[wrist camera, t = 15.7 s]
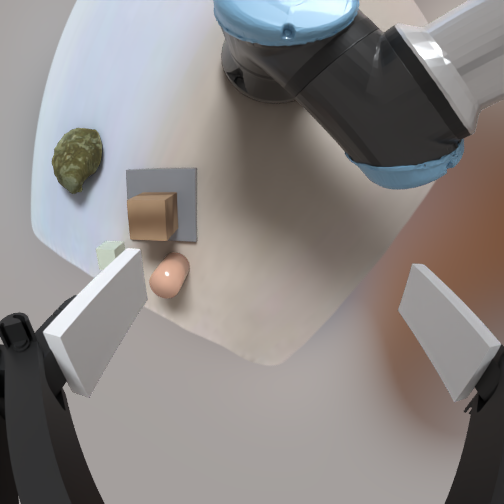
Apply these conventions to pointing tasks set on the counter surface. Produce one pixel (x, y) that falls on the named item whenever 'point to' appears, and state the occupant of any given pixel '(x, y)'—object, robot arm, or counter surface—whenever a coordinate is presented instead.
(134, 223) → the walnut cube
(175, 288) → the pink glossy pebble
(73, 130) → the seashell
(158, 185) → the coaster
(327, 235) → the counter surface
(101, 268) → the sage block
